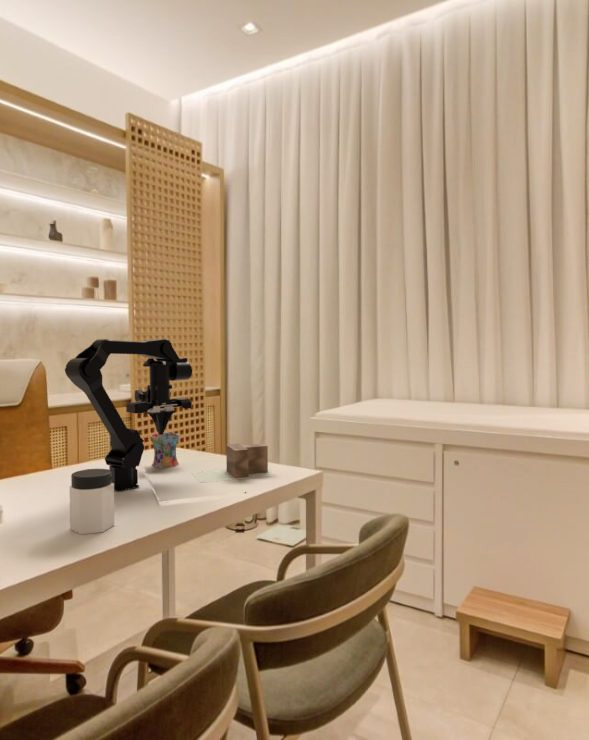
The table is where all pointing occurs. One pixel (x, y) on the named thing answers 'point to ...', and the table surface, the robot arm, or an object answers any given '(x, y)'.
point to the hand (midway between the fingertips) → (160, 434)
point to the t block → (246, 459)
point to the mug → (165, 450)
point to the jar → (91, 501)
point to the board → (222, 476)
